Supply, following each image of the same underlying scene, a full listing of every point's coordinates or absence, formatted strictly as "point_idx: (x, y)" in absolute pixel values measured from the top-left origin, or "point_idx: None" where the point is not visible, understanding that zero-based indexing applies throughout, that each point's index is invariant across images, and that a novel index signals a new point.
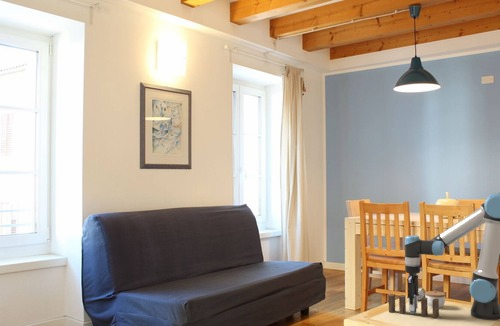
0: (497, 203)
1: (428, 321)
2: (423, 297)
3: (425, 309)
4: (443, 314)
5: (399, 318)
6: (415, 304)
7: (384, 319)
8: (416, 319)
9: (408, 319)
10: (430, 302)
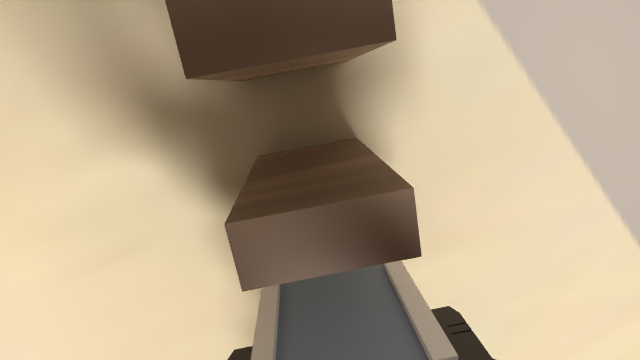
0: None
1: (503, 40)
2: (260, 282)
3: (357, 155)
4: (108, 28)
5: (543, 289)
6: (318, 312)
7: (634, 355)
8: (494, 165)
9: (534, 219)
10: None
